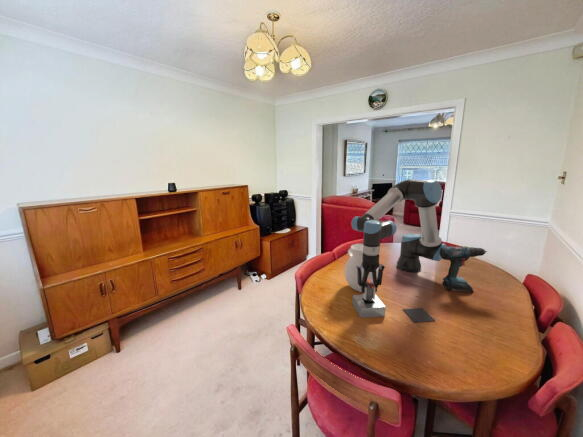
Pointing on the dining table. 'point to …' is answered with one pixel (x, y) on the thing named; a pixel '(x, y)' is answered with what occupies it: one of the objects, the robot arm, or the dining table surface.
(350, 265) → the white vase
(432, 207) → the robot arm
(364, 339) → the dining table surface
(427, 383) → the dining table surface
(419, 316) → the mat
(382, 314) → the block
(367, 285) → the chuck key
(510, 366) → the dining table surface
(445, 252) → the power drill
